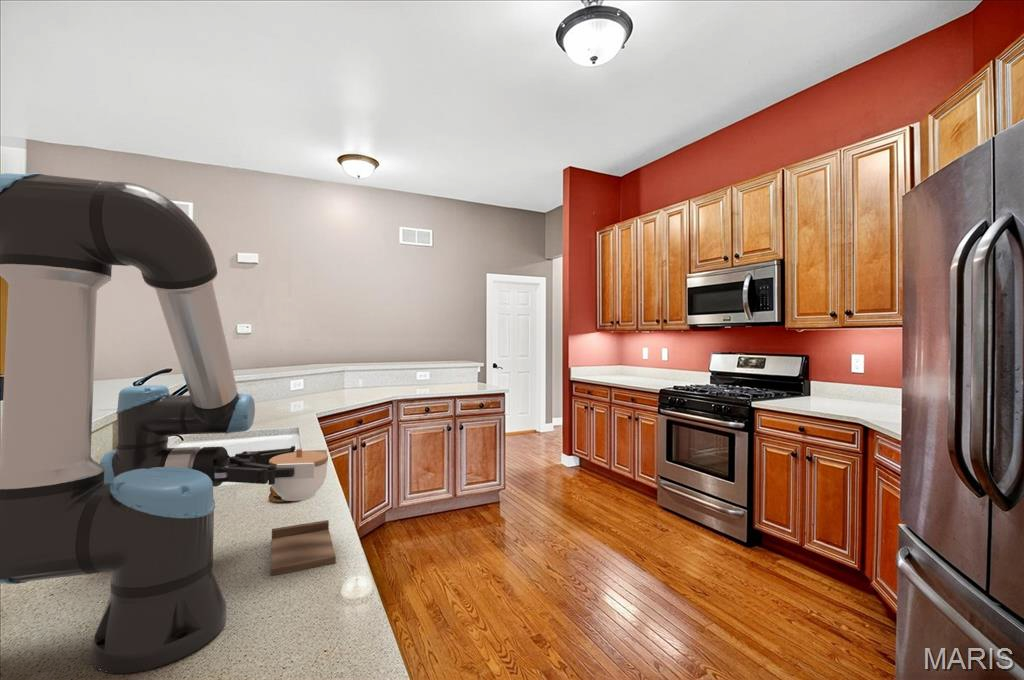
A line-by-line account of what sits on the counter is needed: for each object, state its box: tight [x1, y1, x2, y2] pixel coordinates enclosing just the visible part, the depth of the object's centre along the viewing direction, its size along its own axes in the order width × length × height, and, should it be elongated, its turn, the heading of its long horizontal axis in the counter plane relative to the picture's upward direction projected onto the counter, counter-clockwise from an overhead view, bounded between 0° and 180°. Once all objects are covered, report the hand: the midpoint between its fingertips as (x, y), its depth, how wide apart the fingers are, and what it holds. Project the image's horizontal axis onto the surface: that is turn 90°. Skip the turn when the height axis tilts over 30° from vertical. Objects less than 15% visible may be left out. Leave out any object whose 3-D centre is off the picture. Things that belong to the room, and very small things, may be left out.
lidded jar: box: [269, 448, 329, 502], centre depth 91 cm, size 11×11×9 cm
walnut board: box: [270, 519, 337, 577], centre depth 91 cm, size 15×11×3 cm
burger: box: [268, 485, 288, 503], centre depth 122 cm, size 10×9×5 cm
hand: (320, 462), depth 92 cm, fingers closed on lidded jar, 11 cm apart
